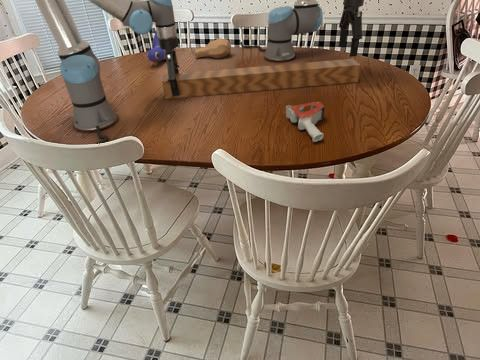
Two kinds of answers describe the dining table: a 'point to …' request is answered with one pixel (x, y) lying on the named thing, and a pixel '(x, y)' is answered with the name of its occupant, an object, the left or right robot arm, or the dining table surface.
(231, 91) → the thick board
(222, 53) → the squash
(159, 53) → the toy
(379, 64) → the dining table surface
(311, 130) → the tape dispenser
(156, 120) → the dining table surface
